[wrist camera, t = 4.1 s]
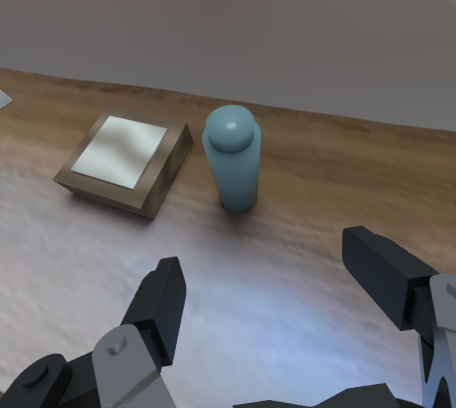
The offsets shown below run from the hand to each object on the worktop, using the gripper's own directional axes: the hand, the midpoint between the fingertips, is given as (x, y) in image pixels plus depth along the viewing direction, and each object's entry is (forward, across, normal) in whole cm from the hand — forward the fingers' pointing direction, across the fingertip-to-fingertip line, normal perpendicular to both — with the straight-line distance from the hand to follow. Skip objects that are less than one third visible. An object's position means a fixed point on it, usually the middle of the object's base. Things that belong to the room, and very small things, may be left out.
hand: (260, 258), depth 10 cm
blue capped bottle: (+20, 0, +3) cm, 20 cm away
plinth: (+25, +15, -2) cm, 30 cm away
